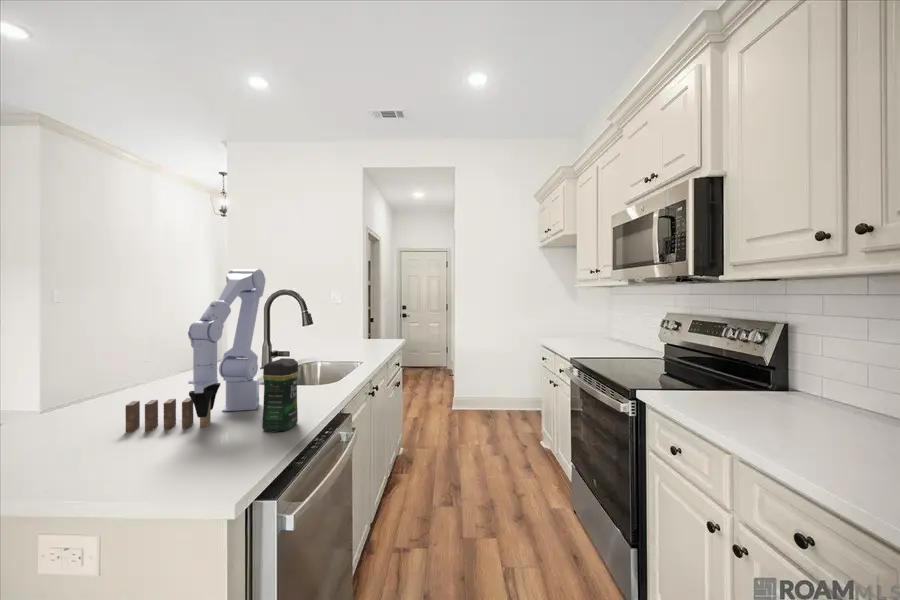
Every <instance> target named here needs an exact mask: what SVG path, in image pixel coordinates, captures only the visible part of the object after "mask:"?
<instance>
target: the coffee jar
mask: <svg viewBox="0 0 900 600" xmlns="http://www.w3.org/2000/svg"><path fill="white" fill-rule="evenodd" d="M262 374H263V375H262V377H263V386H264V387H263V407H262V420H261V423H262V426H261V427H262V429H263V430H264V431H268V432H273V433H277V432H280V431H287V430H290V429H291V428H293V427H294V426H295V425H297V423H298V420H299V418H298V414H299V413H298V376H299V362H298V361H296V360H295V358H284V357H283V358H279V359H277V360H273V361H269V362H268V363H266V364H264V365H263V371H262Z"/></svg>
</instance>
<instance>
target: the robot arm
mask: <svg viewBox="0 0 900 600" xmlns="http://www.w3.org/2000/svg"><path fill="white" fill-rule="evenodd" d="M225 277H226V278H225V281H226V284H225V286H224V289H223V290H222V293H220V295H219V298H218V299H217V300H213V301H211V302H210V304H209V306H207V308H206V309H205V311H204V313H203V314H202V316H201V317H200V318H199V320H195V321H194V322H192V323H191V324H190V326H189V328H188V331H187V336H188V339H189V340H190V346H191V348H192V349H193V354H192V355H193V356H192V359H193V366H192V367H193V369H192V370H193V371H192V374H193V379H190V380H188V382H187V383H188V385H190V384H191V385H193V387H194V388H193V390H190V391H189V392H188V396H189V398H191V399H192V401H193V407H194V408H195V413H196V416H197V418H200V417H206V416H207V414H208V409H209V403H210V399H211V411H212V410H213V409H214V405H215V402H216V396H217V394H218V391H219V389H220V387H221V382H219V378H218V372H219V375H220V377H221V378H222V379H223V381H225V406H224V407H223V408H222V410H221V412H223V413H224V412H238V411H248V410H249V411H253V410H257V409H258V406H259V405H260V381H259V379H258V378H255V377H256V375H257V373H258V369H259V365H258V360H259V359H258V358H259V356H258V354H256V353H255V352H254V351H253V350H252V348H251V347H252V342H253V336H254V334H255V332H254V331H255V327H256V320H257V314H258V311H259V304H260V299H261V298H262V297H263V295H264V291H265V286H266V277H265V274H264V271H263V270H262V269H260V268H256V269H251V268H248V269H247V268H246V269H244V268H238V269H237V268H231V269H230V270H229V271H228V273H227V275H226V276H225ZM237 298H240V300H241V304H240V309H239V313H238V314H239V315H238V319H237V323H236V327H235V334H234V339H233V344H232V347H231V348H230V349H228V350H227V351H225V352H224V353H223V357H222V359H221V361H220V364H219V367H218V341H219V340H221V338H222V336H223V329H224V324H225V322H226V320H227V319H228V317H229V316H230V314H231V312H232V309H231V307H230V306H231V305H232V304H233V303H234V301H235V300H236V299H237Z"/></svg>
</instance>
